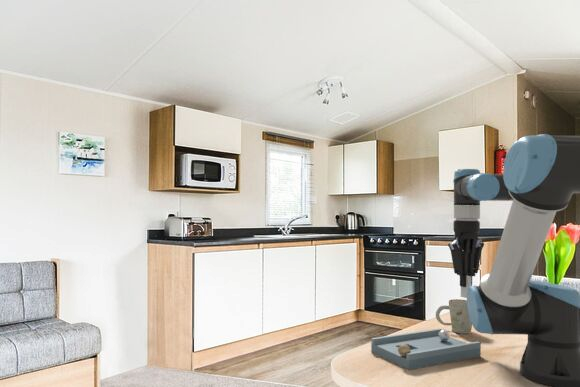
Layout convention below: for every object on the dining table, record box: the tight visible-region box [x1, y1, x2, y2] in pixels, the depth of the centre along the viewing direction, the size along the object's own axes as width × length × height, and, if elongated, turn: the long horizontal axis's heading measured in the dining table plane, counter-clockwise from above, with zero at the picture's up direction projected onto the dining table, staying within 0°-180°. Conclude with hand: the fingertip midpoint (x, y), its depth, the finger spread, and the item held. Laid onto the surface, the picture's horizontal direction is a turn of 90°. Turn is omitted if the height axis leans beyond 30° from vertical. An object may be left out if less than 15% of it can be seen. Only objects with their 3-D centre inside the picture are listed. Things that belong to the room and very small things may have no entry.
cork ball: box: [398, 344, 411, 357], centre depth 125 cm, size 3×3×3 cm
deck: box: [370, 328, 482, 371], centre depth 135 cm, size 16×26×4 cm, turn 117°
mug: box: [435, 298, 473, 335], centre depth 160 cm, size 8×13×10 cm, turn 79°
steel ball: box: [438, 329, 451, 342], centre depth 139 cm, size 3×3×3 cm
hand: (465, 297), depth 144 cm, fingers closed
